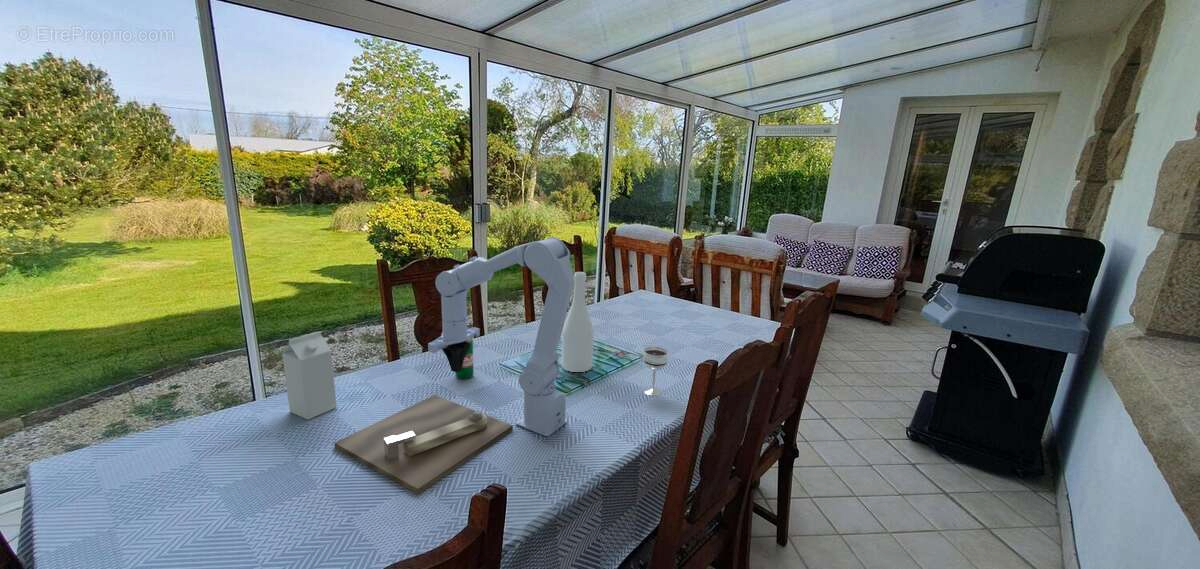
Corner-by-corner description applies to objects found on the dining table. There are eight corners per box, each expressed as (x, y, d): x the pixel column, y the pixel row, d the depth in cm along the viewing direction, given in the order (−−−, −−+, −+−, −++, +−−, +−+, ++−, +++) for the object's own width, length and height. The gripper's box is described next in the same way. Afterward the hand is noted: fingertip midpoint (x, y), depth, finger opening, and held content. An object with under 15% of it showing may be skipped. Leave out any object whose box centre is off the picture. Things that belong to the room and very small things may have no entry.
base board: (512, 430, 105) (512, 425, 105) (418, 494, 83) (417, 488, 83) (435, 399, 118) (434, 394, 117) (334, 447, 96) (334, 442, 95)
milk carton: (289, 412, 108) (279, 337, 104) (319, 400, 114) (311, 328, 110) (307, 420, 105) (298, 343, 101) (337, 407, 111) (329, 334, 107)
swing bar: (481, 419, 106) (480, 407, 105) (490, 426, 103) (489, 413, 103) (402, 448, 94) (401, 434, 93) (410, 457, 91) (409, 443, 90)
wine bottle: (557, 363, 143) (559, 270, 136) (584, 359, 147) (588, 268, 140) (567, 376, 134) (570, 277, 127) (597, 371, 138) (601, 275, 131)
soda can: (462, 381, 128) (461, 341, 125) (451, 376, 131) (450, 336, 128) (477, 375, 132) (476, 336, 129) (466, 370, 135) (465, 332, 132)
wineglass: (664, 387, 130) (667, 347, 127) (665, 398, 124) (669, 357, 121) (640, 385, 131) (643, 345, 128) (640, 396, 124) (643, 355, 122)
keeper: (412, 445, 96) (411, 429, 95) (416, 451, 94) (415, 434, 93) (384, 454, 92) (383, 438, 91) (388, 460, 90) (387, 443, 89)
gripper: (465, 308, 118) (466, 357, 121) (418, 322, 105) (420, 376, 109) (485, 313, 114) (486, 364, 118) (439, 328, 102) (441, 384, 105)
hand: (456, 370), depth 113 cm, fingers closed
